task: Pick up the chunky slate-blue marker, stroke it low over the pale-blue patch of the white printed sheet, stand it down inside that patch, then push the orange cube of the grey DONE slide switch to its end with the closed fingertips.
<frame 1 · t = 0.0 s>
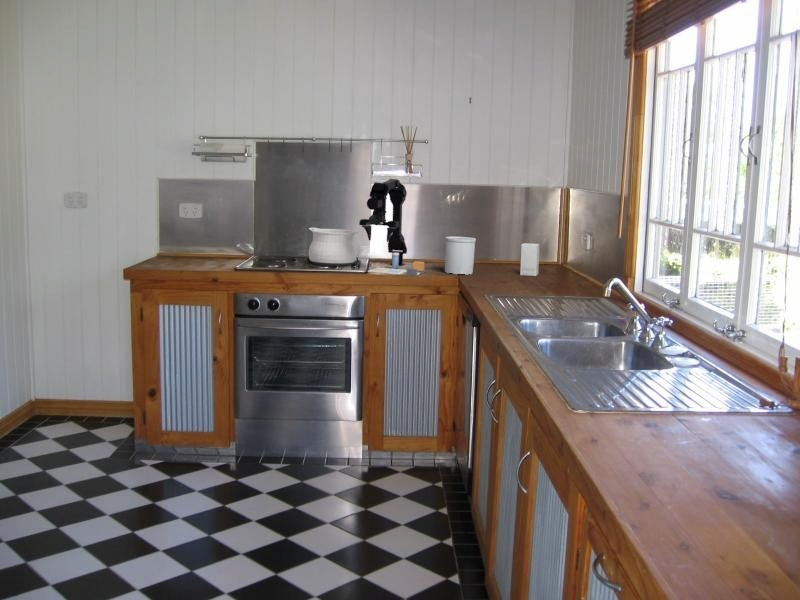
hand: (378, 241, 429), 15 cm above the worktop, fingers open, 9 cm apart
pot: (332, 264, 451), on the worktop
switch base: (416, 273, 428), on the worktop
marker: (395, 269, 440), on the worktop
skincare box: (528, 275, 440), on the worktop
orange cube: (418, 266, 430), point 3 cm above the worktop, slide at 0.0 cm
sheet: (388, 271, 432), on the worktop
utensil holder: (458, 273, 436), on the worktop
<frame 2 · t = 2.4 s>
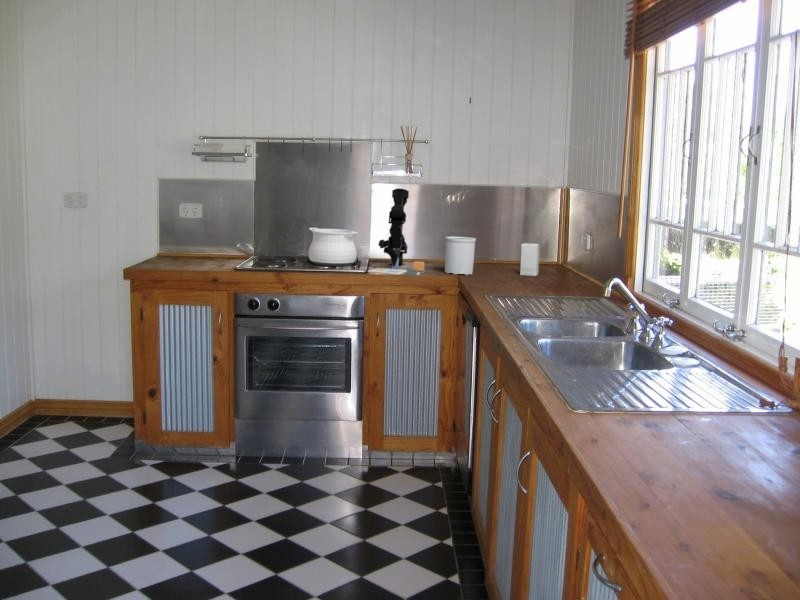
hand: (395, 266, 440), 2 cm above the worktop, fingers closed on marker, 3 cm apart
marker: (395, 269, 440), on the worktop, touching gripper, sheet
everything else where it was.
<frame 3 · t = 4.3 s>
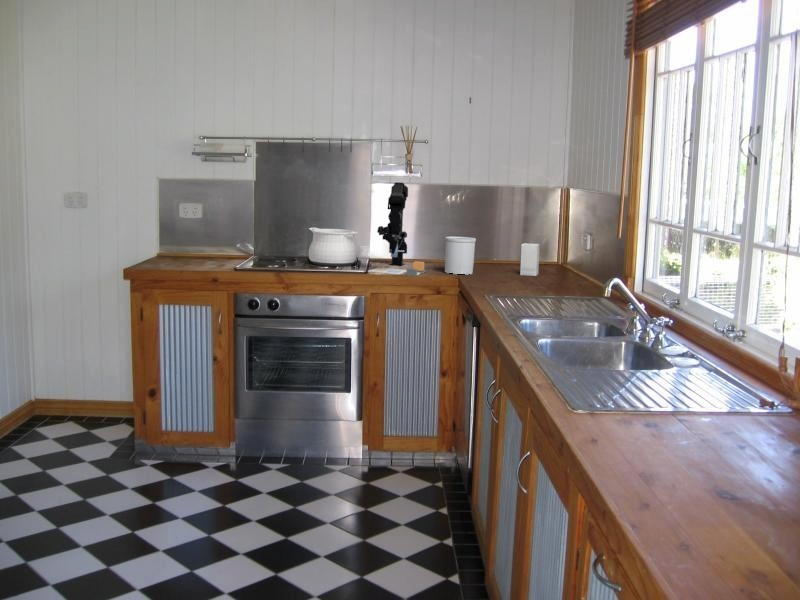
hand: (394, 253, 429), 9 cm above the worktop, fingers closed on marker, 3 cm apart
marker: (394, 256, 430), point 7 cm above the worktop, touching gripper
everything else where it was.
when the fingers open (2 cm above the worktop, at t = 6.5 s): marker stays where it is, resting on sheet.
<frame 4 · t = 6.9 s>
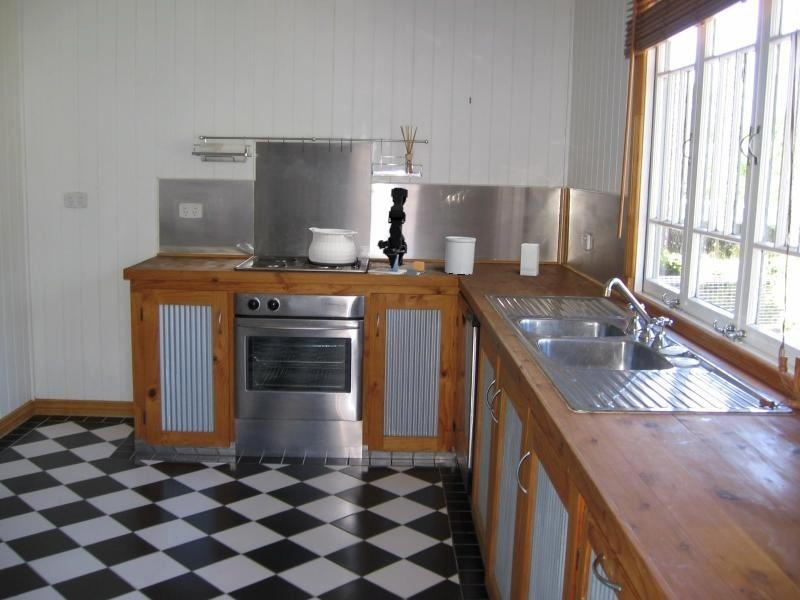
hand: (394, 267, 429), 2 cm above the worktop, fingers open, 7 cm apart
marker: (394, 271, 429), point 1 cm above the worktop, touching sheet
everything else where it was.
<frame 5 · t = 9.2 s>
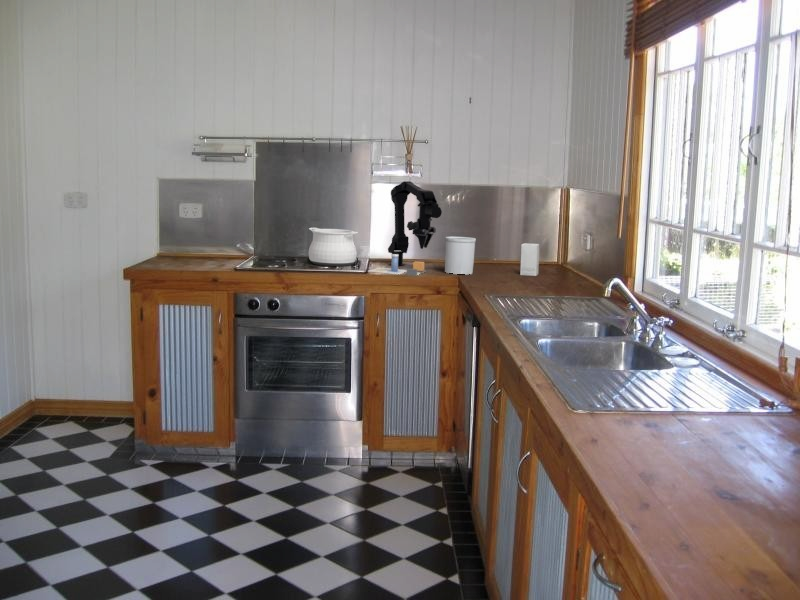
hand: (423, 248, 435), 11 cm above the worktop, fingers open, 6 cm apart
nothing on the worktop moved.
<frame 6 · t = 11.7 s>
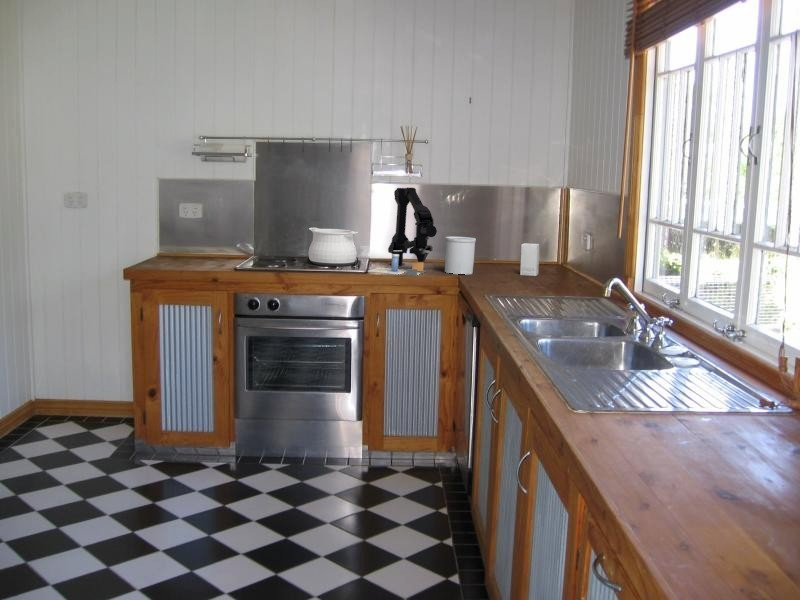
hand: (420, 267, 432), 3 cm above the worktop, fingers closed
orange cube: (417, 266, 429), point 3 cm above the worktop, slide at 1.3 cm, touching gripper
everything else where it was.
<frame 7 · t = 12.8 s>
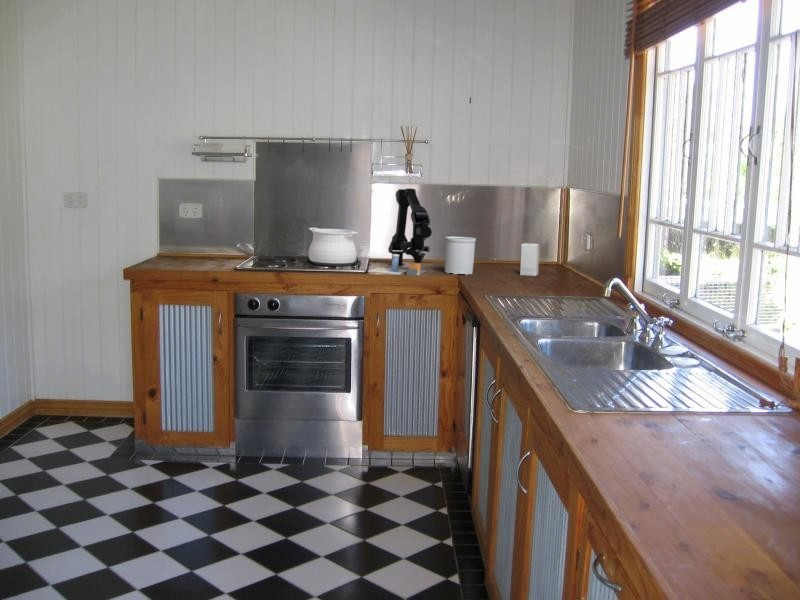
hand: (417, 268, 428), 3 cm above the worktop, fingers closed
orange cube: (414, 267, 424), point 3 cm above the worktop, slide at 6.1 cm, touching gripper
everything else where it was.
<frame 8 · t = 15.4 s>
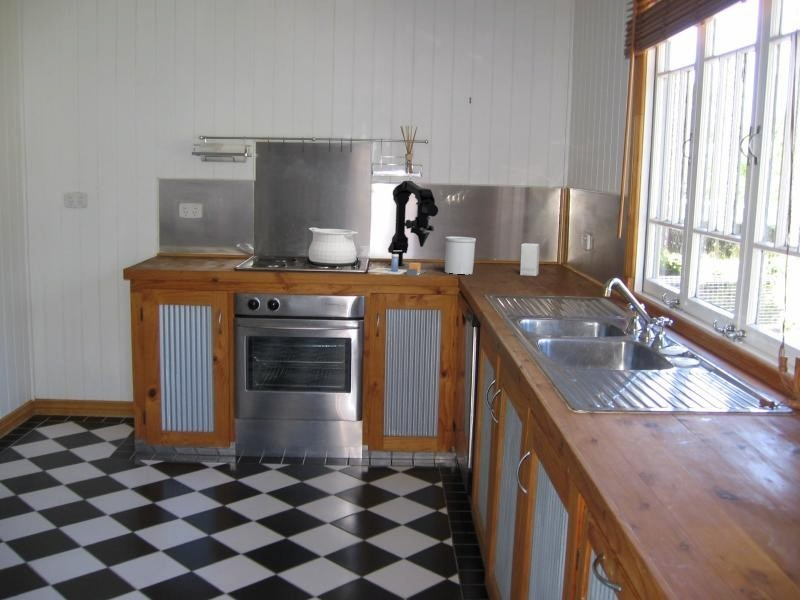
hand: (421, 246, 431), 12 cm above the worktop, fingers closed
orange cube: (414, 267, 425), point 3 cm above the worktop, slide at 6.1 cm
everything else where it was.
at the end: marker inside the target area on the sheet (0.4 cm from its centre), point 0.6 cm above the sheet's base; marker tilted 3°; orange cube slide at 6.1 cm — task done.
